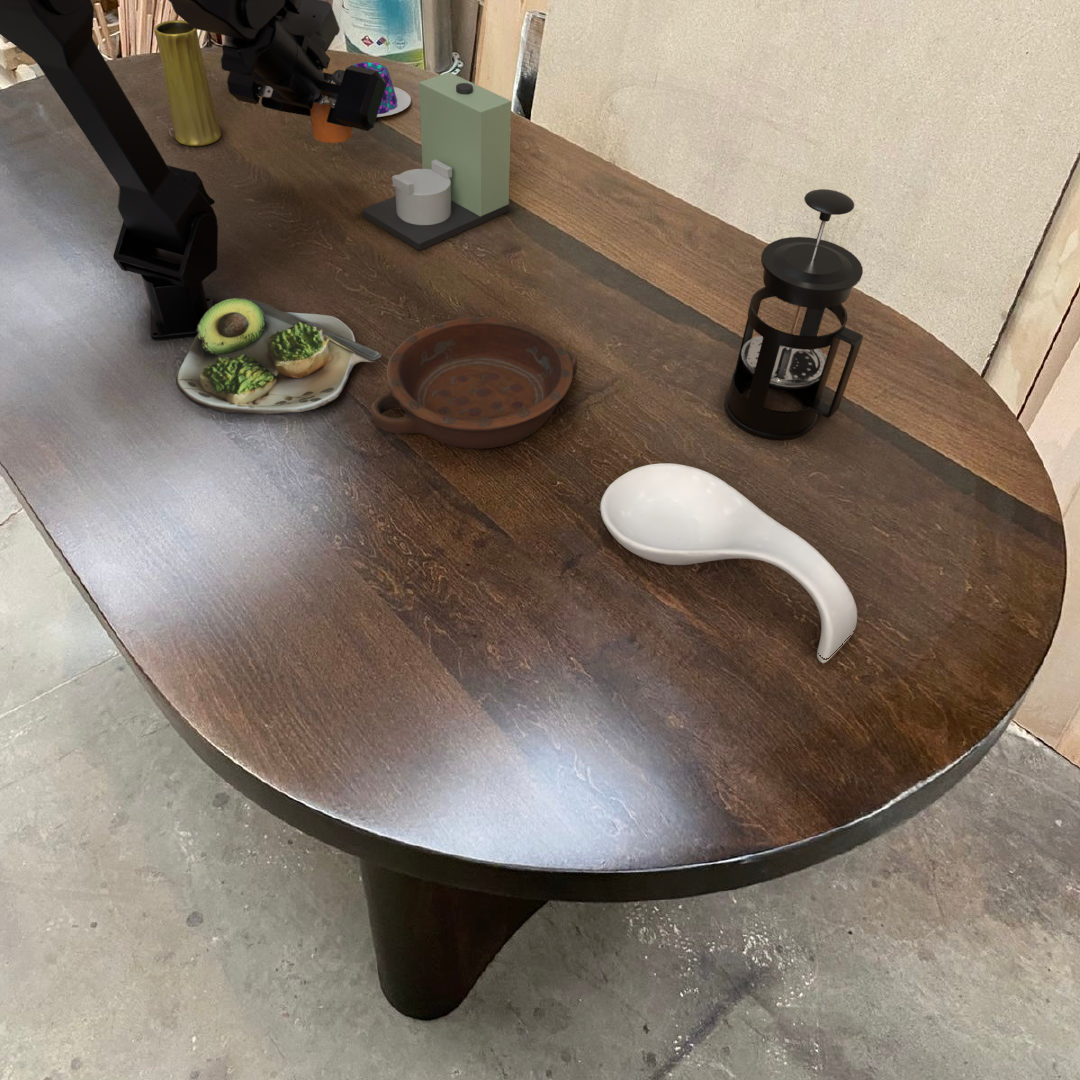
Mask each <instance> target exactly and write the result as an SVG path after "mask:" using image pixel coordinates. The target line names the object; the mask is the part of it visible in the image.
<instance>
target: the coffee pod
mask: <svg viewBox="0 0 1080 1080" xmlns="http://www.w3.org/2000/svg"><path fill="white" fill-rule="evenodd" d="M322 96H323V95H322ZM327 98H328V96H325V101H324V104H322V105H321V104H317V103H313V106H312V109H310V115H311V116H310V121H311V129H312V130H311V131H312V137H313V138H314V139H315V140H317V141H319V142H322V143H327V144H335V143H342V142H346V141H347V140H349V139H351V137H352V136H353V127H345V126H341V125H337V124H332V123H328V122H327V118H328V114H329V111H330V108H331V106H330V105H331V102H329V101H328V100H327Z"/></svg>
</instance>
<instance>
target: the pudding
mask: <svg viewBox="0 0 1080 1080" xmlns="http://www.w3.org/2000/svg"><path fill="white" fill-rule="evenodd" d="M352 65H353V66H358V67H362V68H367V69H371V70H376V71H378V72H379V73H380V75H381V76H382V77H383V78H384V80H385V82H386V84H387V85H386V88H385V91H384V95H383V98H382V101H381V105H380V108H379V111H378V114H377V118H381V117H386V116H387V117H388V116H392V115H395V114H398V113H400V112H403V111H404V110H406V109H407V108H408V107H409V106H410V105H411V103H412V98H411V96H410V94H409V93H408V92H406V91H405V90H403V89H401V88H400V87H396V86H394V85H393V81H392V77H391V75H390V71H389V68H387V66H385V65H383V64H381V63H379V62H370V61H362V62H359V63H353V64H352Z"/></svg>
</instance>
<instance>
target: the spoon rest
mask: <svg viewBox="0 0 1080 1080" xmlns="http://www.w3.org/2000/svg"><path fill="white" fill-rule="evenodd" d="M599 509H600V515H601V519H602V521H603V523H604V525H605V527H606V529H607V530H608V532H609V533H610V535H611V536H612V537H613V539H615V540H616V542H617V543H619V544H620V545H621V546H622V547H623V548H624V549H626V550H627V551H629V552H630V553H632V554H633V555H636V556H638V557H640V558H643V559H645V560H648V561H651V562H653V563H657V564H661V565H662V564H663V565H669V566H687V565H688V566H689V565H696V564H701V563H708V562H714V561H723V560H733V559H734V560H735V559H745V560H756V561H761V562H765V563H768V564H771V565H772V566H776V567H777V568H779V569H780V570H782V571H784V572H785V573H787V574H788V575H789V576H790V577H792V578H793V579H795V581H797V582H798V583H799V584H800V585H801V586H802V587H803V588H804V590H805V591H806V592H807V593H808V594H809V596H810V597H811V598H812V600H813V602H814V603H815V606H816V608H817V611H818V614H819V618H820V624H821V625H820V629H821V630H820V638H819V643H818V647H817V651H816V657H817V660H818V661H819V663H821V664H825V663H828V661H830V659H832V658H833V657H834V656H835V655H836V653H837V652H838V651H840V649H841V648H843V646H844V645H845V644H846V643H847V642H848V641H849V640H850V638H851V637H852V636H853V634H854V633H855V631H854V630H856V627H857V624H858V622H857V621H858V608H857V605H856V601H855V598H854V596H853V594H852V592H851V590H850V588H849V586H848V585H847V583H846V582H845V581H844V579H843V578H842V576H841V575H840V574H839V573H838V572H837V570H836V569H835V568H834V567H833V565H832V564H831V563H830V562H829V561H828V560H827V559H826V558H825V557H824V556H823V555H822V554H821V553H820V552H819V551H818V550H817V549H816V548H815V547H813V546H812V545H811V544H810V543H809V542H808V541H806V540H805V539H803V538H802V537H801V536H799V535H798V534H797V533H795V532H793V531H792V530H790V529H789V528H787V527H786V526H784V525H783V524H781V523H780V522H778V521H777V520H775V519H774V518H772V517H771V516H770V515H768V514H767V513H766V512H764V510H762V509H760V508H759V507H758V506H757V505H755V503H753V502H752V501H750V500H749V499H748V498H747V497H746V496H745V495H743V494H742V493H741V492H739V490H737V489H735V488H734V487H732V486H731V485H730V484H728V482H726V481H724V480H722V479H721V478H720V477H717V476H716V475H714V474H712V473H711V472H708V471H706V470H703V469H701V468H698V467H695V466H689V465H685V464H681V463H680V464H679V463H669V462H668V463H665V462H663V463H662V462H661V463H653V464H646V465H643V466H638V467H636V468H633V469H631V470H629V471H627V472H625V473H624V474H622V475H621V476H619V477H617V478H616V479H615V480H614V481H613V482H611V483H610V484H609V485H608V486H607V488H606V489H605V491H604V492H603V494H602V497H601V500H600V506H599ZM853 631H854V632H853ZM850 635H851V636H850ZM849 636H850V637H849ZM848 637H849V638H848ZM847 638H848V639H847ZM846 639H847V640H846ZM845 640H846V641H845ZM844 641H845V642H844ZM842 643H843V645H842ZM841 645H842V646H841ZM840 646H841V647H840ZM839 647H840V648H839ZM838 648H839V649H838ZM837 649H838V650H837ZM836 650H837V651H836ZM835 651H836V652H835ZM834 652H835V653H834ZM818 653H819V654H818ZM833 653H834V654H833ZM832 654H833V655H832ZM819 655H821V657H823V658H825V659H826V658H829V657H830V656H831V655H832V656H831V657H830V658H829V659H827V660H823V659H822V658H821V657H820V656H819Z"/></svg>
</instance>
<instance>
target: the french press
mask: <svg viewBox="0 0 1080 1080" xmlns="http://www.w3.org/2000/svg"><path fill="white" fill-rule="evenodd" d="M803 198H804V199H803V200H804V203H805V204H806V205H807V207H809V208H810V209H812V210H814V211H817V212H819V217H818V218H819V220H820V221H821V222H820V226H819V229H818V233H817V236H816V238H815V237H807V236H789V237H785V238H784V237H783V238H780V239H776V240H774V241H772V242H770V243H769V244H767V245H766V246H765V247H764V248H763V250H762V252H761V257H760V261H761V266H762V267H763V271H762V276H763V278H762V281H763V284H764V286H763V287H762V288H759V289H758V290H756V292H755V293H754V294H753V295H752V296H751V299H750V302H749V305H748V306H749V307H748V310H747V318H746V319H747V320H746V322H745V323H746V324H745V328H744V332H743V336H742V340H741V343H740V348H739V352H738V357H737V361H736V365H735V368H734V371H733V373H732V377H731V382H730V385H729V390H728V391H726V395H725V397H724V403H723V405H724V410H725V413H726V415H727V417H728V418H729V419H730V421H731V422H732V423H733V424H734V425H735V426H737V427H738V428H739V429H741V430H742V431H743V432H745V433H747V434H750V435H752V436H755V437H757V438H761V439H765V440H771V441H789V440H790V441H791V440H794V439H798V438H802V437H803V436H805V435H807V434H808V433H810V432H811V431H812V430H813V428H814V427H815V425H816V423H817V421H818V415H820V416H822V417H824V418H826V419H829V418H830V419H831V417H832V416H833V415H834V414H836V412H838V410H839V408H840V406H841V403H842V400H843V396H844V395H845V391H846V389H847V386H848V383H849V380H850V377H851V375H852V371H853V368H854V365H855V363H856V359H857V357H858V354H859V351H860V349H861V346H862V342H863V340H864V335H863V334H862V333H860V332H857V331H855V330H854V329H851V328H849V327H846V326H847V322H848V312H847V310H846V308H845V307H844V305H843V304H844V303H845V302H846V301H847V300H849V298H850V296H851V294H852V291H853V287H855V286H857V285H858V284H859V282H860V281H861V279H862V276H863V273H864V271H863V270H864V269H863V266H862V262H861V261H860V260H859V258H858V257H857V256H856V255H855V254H853V252H851V251H850V250H848V249H846V248H845V247H843V246H841V245H839V244H836V243H834V242H831V241H828V240H825V239H822V237H823V232H824V229H825V226H826V222H829V221H830V220H831V217H832V216H833V215H834V216H839V215H845V214H848V213H850V212H852V211H854V208H855V202H854V200H853V199H852V198H851V197H850V196H848V195H847V194H845V193H843V192H841V191H838V190H833V189H829V188H827V189H826V188H819V189H814V190H811V191H808V192H807V193H806V194H805V195H804V197H803ZM774 297H775V298H777V299H779V300H781V301H783V302H785V303H788V304H790V305H794V306H797V307H796V311H795V313H794V318H793V322H792V325H791V328H790V332H785V331H782V330H779V329H778V328H775V327H773V326H772V325H769V324H767V323H766V322H765V321H764V320H762V319H761V318H760V317H759V316H758V314H759V311H760V307H761V302H762V301H763V300H766V299H769V298H774ZM802 308H806V309H805V313H804V316H803V320H802V324H801V327H800V331H799V333H798V334H795V331H796V327H797V324H798V320H799V317H800V314H801V310H802ZM826 309H827V310H828V311H830V312H831V313H833V314H834V316H836V318H837V320H838V321H839V323H840V327H839V328H838V329H837V330H835V331H833V332H830V333H827V334H822V335H818V333H819V330H820V327H821V324H822V320H823V317H824V314H825V311H826ZM754 331H755V332H756V333H757V334H758V335H757V336H754V337H753V335H754ZM841 341H843V342H845V343H847V344H849V345H850V348H849V351H848V354H847V358H846V361H845V362H844V366H843V369H842V372H841V375H840V378H839V381H838V384H837V387H836V390H835V392H834V395H833V398H832V401H831V404H829V403H828V402H826V401H824V400H822V398H823V394H824V391H825V388H826V385H827V382H828V379H829V376H830V373H831V371H832V367H833V364H834V361H835V358H836V355H837V352H838V349H839V346H840V343H841ZM827 347H829V349H828V352H827V355H825V353H824V352H823V351H822V350H821V349H824V348H827ZM769 388H770V389H776V390H780V391H782V392H785V393H787V394H789V395H790V396H793V397H794V398H795V400H797V401H798V402H799V403H800V404H801V406H802V408H803V409H800V410H794V411H780V410H774V409H771V408H766V407H765V402H766V400H767V399H766V398H767V394H768V392H769ZM747 391H748V395H747V397H745V396H744V395H743V394H744V393H745V392H747Z"/></svg>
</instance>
